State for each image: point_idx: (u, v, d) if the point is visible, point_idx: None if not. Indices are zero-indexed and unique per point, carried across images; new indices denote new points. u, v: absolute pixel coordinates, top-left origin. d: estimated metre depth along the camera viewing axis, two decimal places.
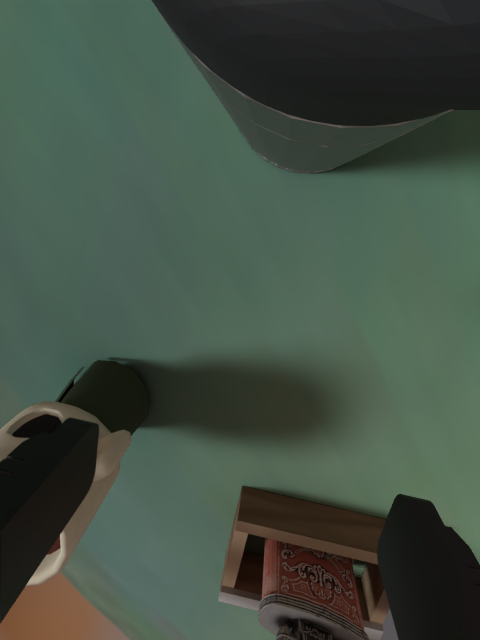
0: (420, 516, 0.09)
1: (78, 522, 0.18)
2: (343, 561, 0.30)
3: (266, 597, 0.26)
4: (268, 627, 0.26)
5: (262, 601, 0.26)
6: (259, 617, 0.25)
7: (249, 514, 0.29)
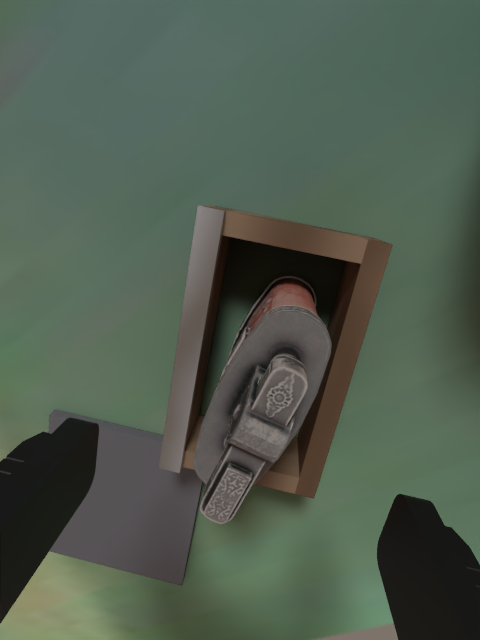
0: (420, 516, 0.09)
1: None
2: None
3: (321, 320, 0.13)
4: (265, 329, 0.13)
5: (313, 313, 0.13)
6: (292, 312, 0.13)
7: None
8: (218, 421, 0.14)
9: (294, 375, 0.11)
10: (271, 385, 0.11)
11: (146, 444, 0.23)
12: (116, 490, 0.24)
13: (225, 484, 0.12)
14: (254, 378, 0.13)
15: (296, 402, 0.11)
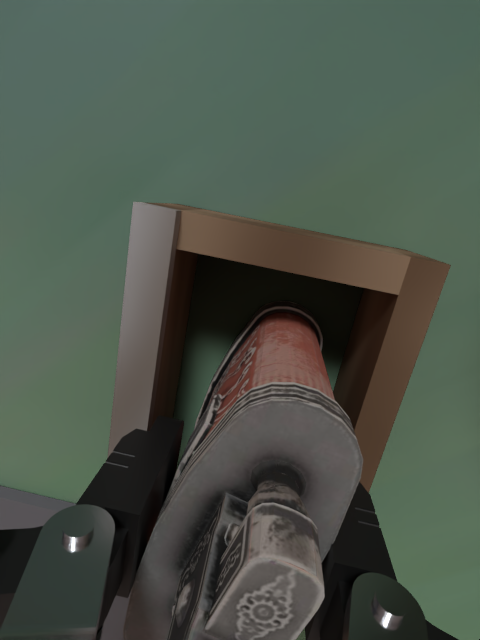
0: None
1: None
2: None
3: (341, 410, 0.07)
4: (239, 432, 0.07)
5: (327, 399, 0.07)
6: (289, 404, 0.07)
7: None
8: (161, 577, 0.08)
9: (295, 574, 0.05)
10: (246, 590, 0.05)
11: None
12: None
13: None
14: (218, 528, 0.07)
15: (300, 623, 0.05)
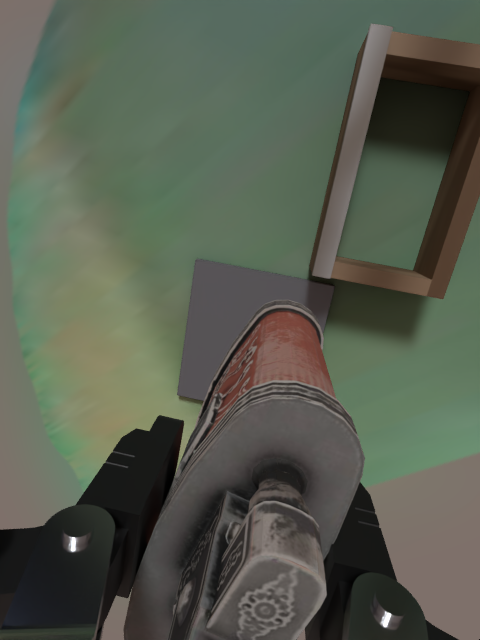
0: None
1: None
2: None
3: (343, 408, 0.07)
4: (241, 431, 0.07)
5: (328, 397, 0.07)
6: (290, 402, 0.07)
7: None
8: (162, 576, 0.08)
9: (297, 572, 0.05)
10: (248, 588, 0.05)
11: (280, 282, 0.27)
12: None
13: None
14: (219, 526, 0.07)
15: (302, 621, 0.05)
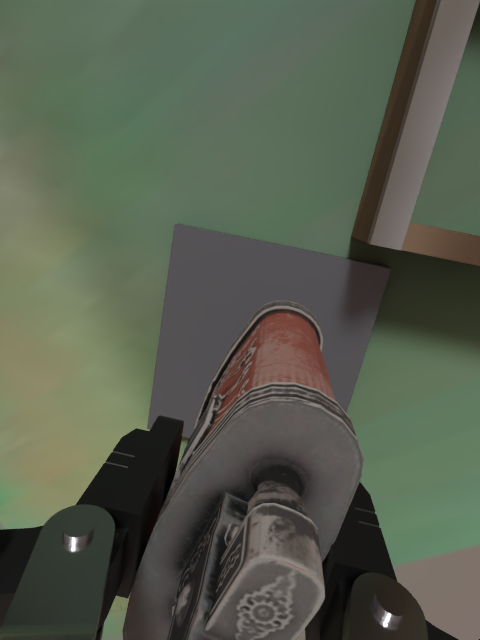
0: None
1: None
2: None
3: (342, 410, 0.07)
4: (240, 432, 0.07)
5: (327, 399, 0.07)
6: (289, 404, 0.07)
7: None
8: (161, 578, 0.08)
9: (296, 575, 0.05)
10: (246, 591, 0.05)
11: (305, 261, 0.17)
12: None
13: None
14: (218, 528, 0.07)
15: (301, 624, 0.05)
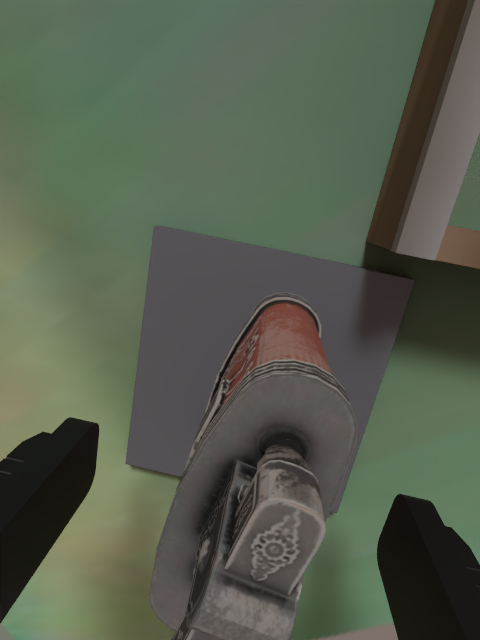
0: (420, 516, 0.09)
1: None
2: None
3: (337, 382, 0.08)
4: (247, 404, 0.08)
5: (323, 372, 0.08)
6: (289, 376, 0.08)
7: None
8: (182, 542, 0.09)
9: (300, 513, 0.06)
10: (258, 531, 0.06)
11: (311, 271, 0.14)
12: None
13: None
14: (232, 489, 0.08)
15: (307, 557, 0.06)
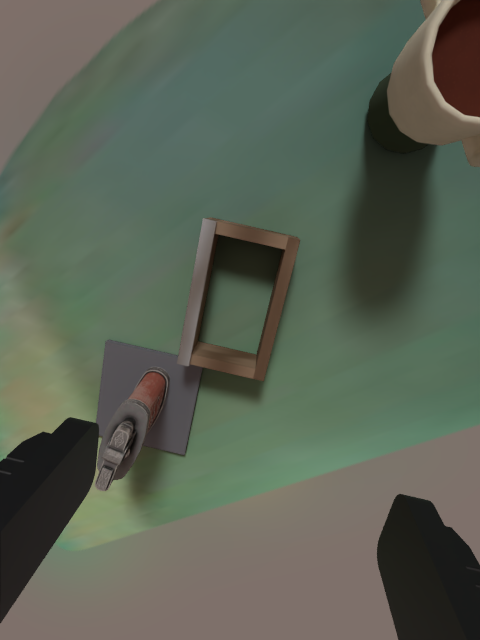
0: (420, 516, 0.09)
1: (473, 131, 0.20)
2: None
3: (145, 404, 0.32)
4: (120, 410, 0.31)
5: (141, 402, 0.32)
6: (129, 404, 0.31)
7: None
8: (106, 448, 0.33)
9: (123, 432, 0.29)
10: (115, 436, 0.30)
11: (165, 359, 0.38)
12: None
13: (102, 474, 0.30)
14: None
15: (125, 442, 0.30)
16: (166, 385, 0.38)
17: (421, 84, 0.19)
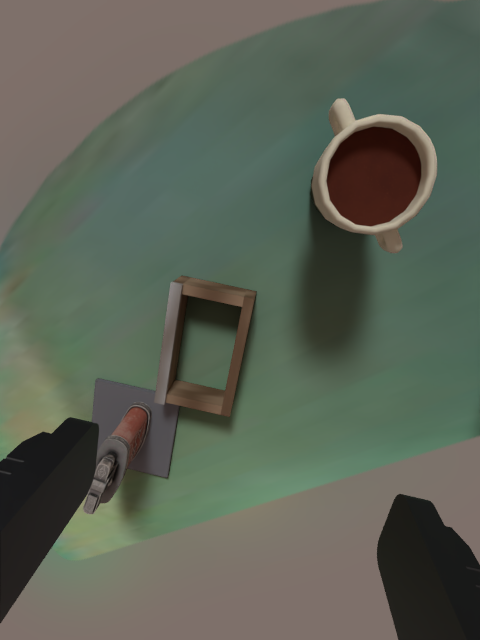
0: (420, 516, 0.09)
1: None
2: None
3: (125, 440, 0.37)
4: (104, 445, 0.37)
5: (121, 438, 0.37)
6: (111, 440, 0.37)
7: None
8: None
9: (104, 466, 0.35)
10: (98, 469, 0.35)
11: (147, 395, 0.43)
12: None
13: (89, 500, 0.36)
14: None
15: (107, 474, 0.35)
16: (148, 418, 0.43)
17: (321, 201, 0.24)
